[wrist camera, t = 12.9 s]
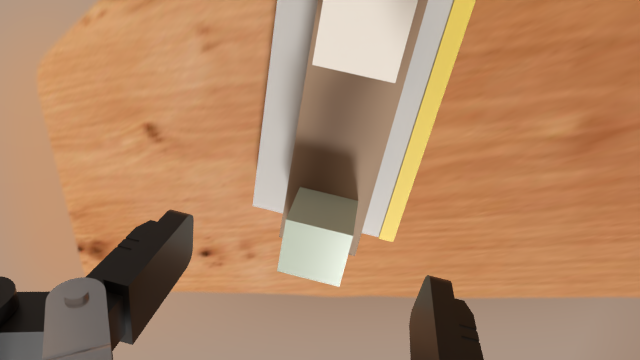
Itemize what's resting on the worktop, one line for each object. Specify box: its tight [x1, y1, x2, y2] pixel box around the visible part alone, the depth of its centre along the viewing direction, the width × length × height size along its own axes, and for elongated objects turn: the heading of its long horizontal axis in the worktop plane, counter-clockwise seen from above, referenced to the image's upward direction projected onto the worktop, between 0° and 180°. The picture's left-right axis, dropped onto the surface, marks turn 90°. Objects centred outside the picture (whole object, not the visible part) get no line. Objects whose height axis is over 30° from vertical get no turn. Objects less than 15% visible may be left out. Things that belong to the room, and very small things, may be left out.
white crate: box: [312, 0, 418, 83], centre depth 20 cm, size 4×4×4 cm
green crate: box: [277, 187, 358, 287], centre depth 26 cm, size 4×4×4 cm
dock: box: [253, 0, 476, 242], centre depth 30 cm, size 12×20×3 cm, turn 169°
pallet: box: [279, 0, 428, 256], centre depth 26 cm, size 6×18×4 cm, turn 169°
